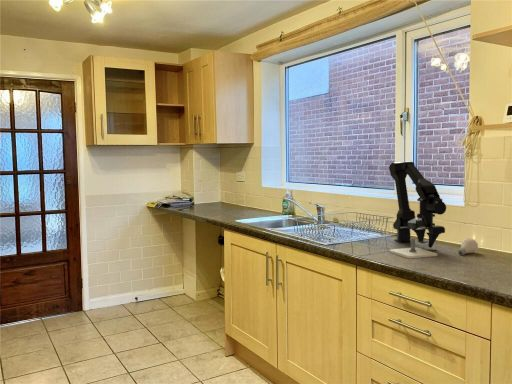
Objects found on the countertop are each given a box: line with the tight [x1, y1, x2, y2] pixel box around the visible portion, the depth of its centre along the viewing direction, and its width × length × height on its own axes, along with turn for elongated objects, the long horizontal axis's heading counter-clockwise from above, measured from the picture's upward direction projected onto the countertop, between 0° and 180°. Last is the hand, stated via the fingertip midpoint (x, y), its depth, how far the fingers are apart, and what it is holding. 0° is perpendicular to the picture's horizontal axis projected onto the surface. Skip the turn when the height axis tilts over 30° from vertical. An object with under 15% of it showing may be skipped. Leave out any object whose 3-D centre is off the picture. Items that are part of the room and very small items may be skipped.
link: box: [415, 239, 437, 251], centre depth 210 cm, size 6×6×3 cm
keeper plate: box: [388, 238, 438, 259], centre depth 199 cm, size 14×14×6 cm
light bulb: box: [457, 237, 479, 256], centre depth 199 cm, size 7×7×11 cm
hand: (425, 245), depth 210 cm, fingers closed on link, 6 cm apart
